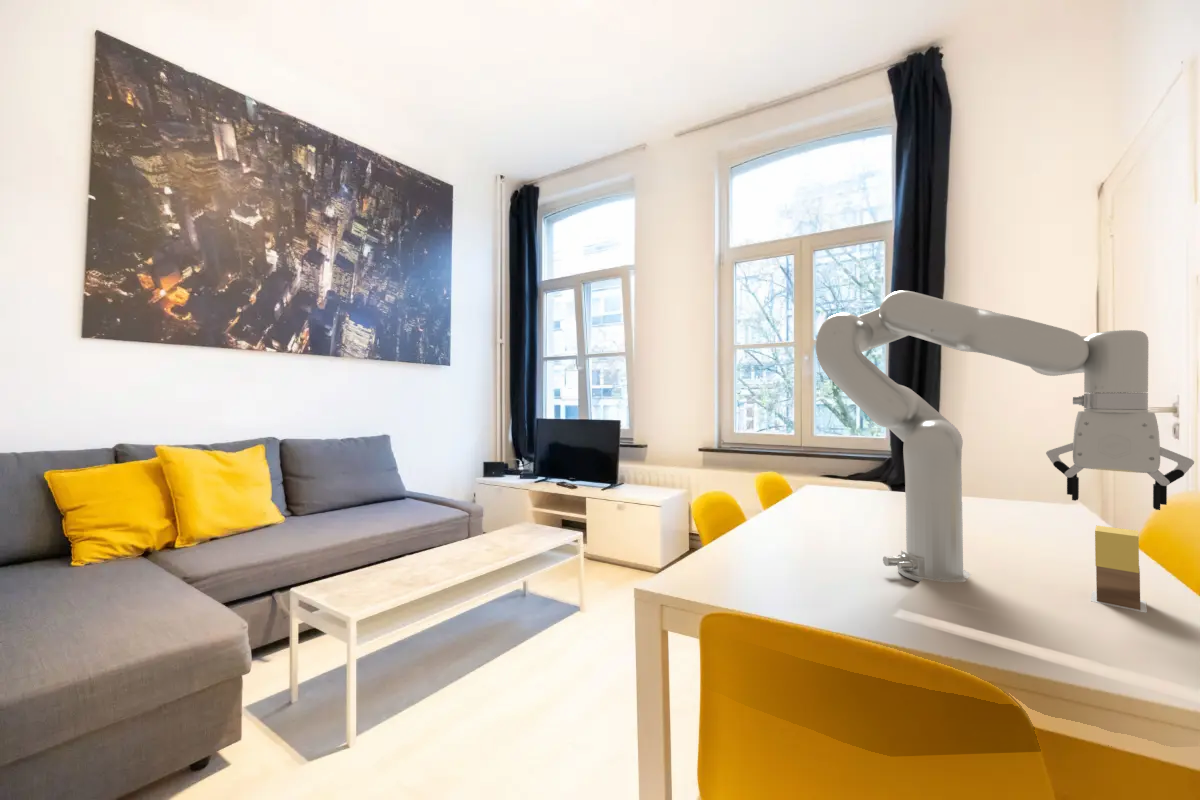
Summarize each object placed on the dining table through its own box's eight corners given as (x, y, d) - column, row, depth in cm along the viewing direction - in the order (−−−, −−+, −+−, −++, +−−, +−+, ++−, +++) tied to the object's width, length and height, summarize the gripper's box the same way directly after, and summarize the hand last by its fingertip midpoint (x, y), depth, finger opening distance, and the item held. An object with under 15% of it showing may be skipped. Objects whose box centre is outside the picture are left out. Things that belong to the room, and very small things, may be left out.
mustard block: (1139, 573, 80) (1138, 536, 80) (1095, 565, 84) (1095, 530, 84) (1138, 565, 83) (1138, 530, 83) (1096, 559, 87) (1096, 525, 87)
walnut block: (1140, 609, 80) (1139, 573, 80) (1096, 601, 84) (1096, 565, 84) (1139, 601, 83) (1139, 565, 83) (1097, 592, 87) (1097, 559, 87)
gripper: (1044, 403, 87) (1043, 499, 87) (1197, 404, 75) (1196, 516, 75) (1048, 403, 92) (1048, 493, 93) (1192, 404, 80) (1191, 509, 80)
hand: (1114, 503), depth 84 cm, fingers open, 9 cm apart
